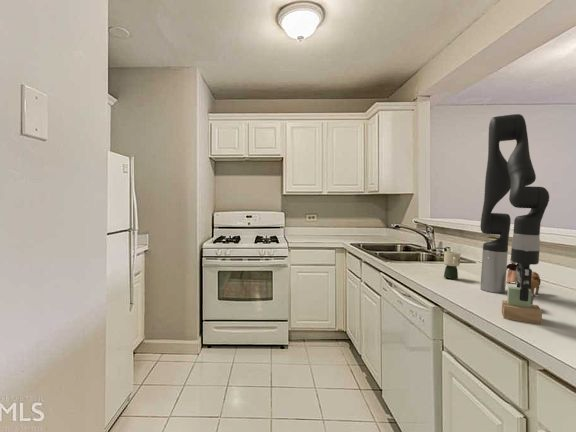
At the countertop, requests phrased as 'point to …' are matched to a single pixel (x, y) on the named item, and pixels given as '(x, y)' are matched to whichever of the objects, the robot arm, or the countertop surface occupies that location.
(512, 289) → the sage brick
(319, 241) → the countertop surface
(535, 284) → the lion figurine
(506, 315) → the oak block
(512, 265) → the grandmother figurine
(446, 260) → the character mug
